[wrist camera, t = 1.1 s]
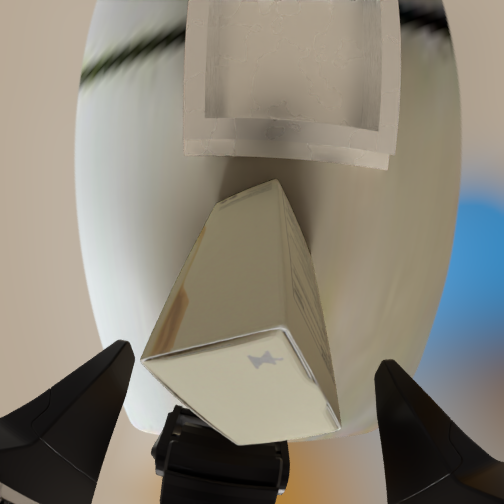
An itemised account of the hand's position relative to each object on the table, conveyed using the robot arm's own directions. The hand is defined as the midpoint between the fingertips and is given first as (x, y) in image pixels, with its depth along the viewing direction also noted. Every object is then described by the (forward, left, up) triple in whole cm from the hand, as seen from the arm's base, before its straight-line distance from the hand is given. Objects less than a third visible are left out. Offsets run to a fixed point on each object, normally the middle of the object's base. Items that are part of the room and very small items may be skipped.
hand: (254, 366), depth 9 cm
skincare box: (0, 0, -11) cm, 11 cm away
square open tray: (+12, -1, -10) cm, 16 cm away
